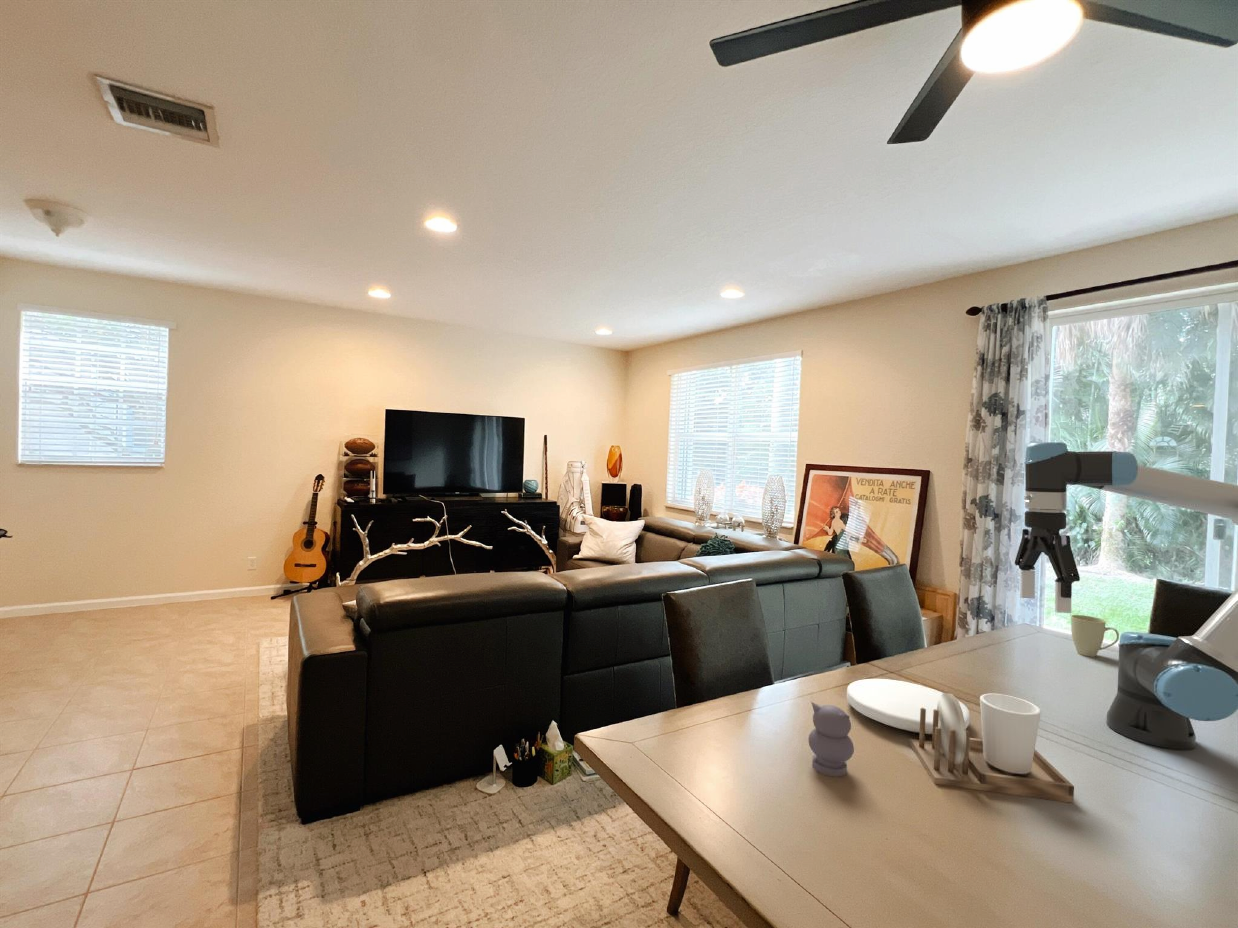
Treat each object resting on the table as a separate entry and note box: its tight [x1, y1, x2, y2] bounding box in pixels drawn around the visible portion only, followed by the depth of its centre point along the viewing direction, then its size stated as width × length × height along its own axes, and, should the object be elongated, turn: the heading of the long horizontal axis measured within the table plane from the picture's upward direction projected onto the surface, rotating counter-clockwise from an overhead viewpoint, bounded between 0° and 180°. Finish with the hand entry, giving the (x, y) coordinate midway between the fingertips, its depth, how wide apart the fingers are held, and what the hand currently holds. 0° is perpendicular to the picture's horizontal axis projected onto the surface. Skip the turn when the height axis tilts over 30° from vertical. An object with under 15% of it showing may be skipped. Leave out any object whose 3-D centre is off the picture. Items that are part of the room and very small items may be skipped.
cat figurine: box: [808, 701, 855, 777], centre depth 112 cm, size 8×8×12 cm
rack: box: [909, 692, 1075, 803], centre depth 113 cm, size 23×15×14 cm
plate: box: [846, 678, 971, 735], centre depth 137 cm, size 28×6×27 cm
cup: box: [979, 693, 1042, 777], centre depth 112 cm, size 10×10×13 cm
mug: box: [1070, 614, 1120, 658], centre depth 189 cm, size 11×10×12 cm
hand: (1044, 604), depth 128 cm, fingers open, 13 cm apart
